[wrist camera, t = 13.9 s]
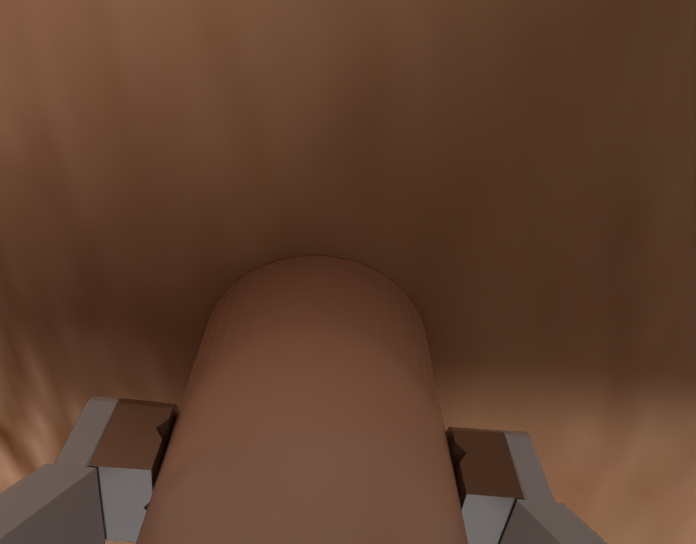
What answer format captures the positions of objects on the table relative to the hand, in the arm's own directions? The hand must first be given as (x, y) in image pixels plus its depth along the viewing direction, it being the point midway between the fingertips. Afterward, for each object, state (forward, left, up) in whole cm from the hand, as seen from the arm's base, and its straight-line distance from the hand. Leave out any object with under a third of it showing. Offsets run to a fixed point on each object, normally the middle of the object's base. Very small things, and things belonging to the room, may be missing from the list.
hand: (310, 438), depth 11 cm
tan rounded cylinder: (0, 0, -3) cm, 3 cm away
